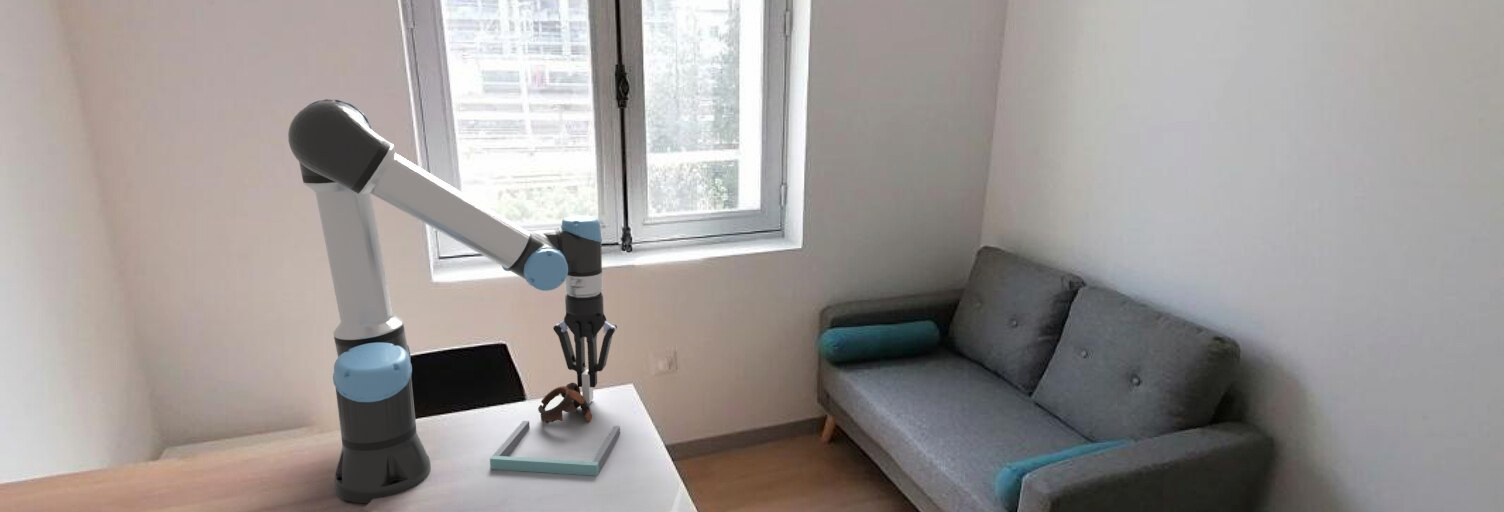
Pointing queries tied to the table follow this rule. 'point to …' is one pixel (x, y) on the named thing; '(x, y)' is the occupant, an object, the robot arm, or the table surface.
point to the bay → (550, 465)
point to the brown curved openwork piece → (564, 403)
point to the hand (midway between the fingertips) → (588, 400)
